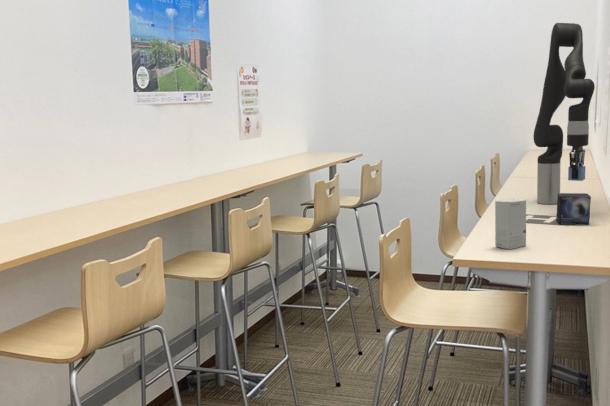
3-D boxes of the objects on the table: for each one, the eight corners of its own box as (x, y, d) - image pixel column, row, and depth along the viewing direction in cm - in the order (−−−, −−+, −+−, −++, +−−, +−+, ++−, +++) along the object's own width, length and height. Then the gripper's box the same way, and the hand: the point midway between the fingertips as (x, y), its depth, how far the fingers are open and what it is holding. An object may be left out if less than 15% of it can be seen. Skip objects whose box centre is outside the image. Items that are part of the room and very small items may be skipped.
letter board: (518, 214, 276) (518, 213, 276) (571, 217, 264) (571, 216, 264) (505, 221, 262) (505, 220, 262) (560, 225, 251) (560, 224, 251)
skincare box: (509, 250, 215) (509, 202, 213) (494, 247, 220) (494, 200, 218) (527, 245, 220) (527, 199, 218) (511, 243, 225) (511, 197, 223)
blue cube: (571, 178, 268) (571, 165, 267) (585, 179, 265) (585, 166, 265) (568, 180, 264) (568, 167, 263) (582, 180, 261) (582, 167, 261)
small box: (558, 224, 251) (559, 195, 249) (555, 221, 257) (556, 192, 255) (590, 224, 249) (591, 195, 247) (586, 221, 255) (587, 193, 253)
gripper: (583, 134, 254) (582, 180, 257) (592, 131, 266) (591, 176, 268) (562, 134, 258) (561, 180, 261) (572, 131, 270) (571, 175, 273)
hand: (576, 177), depth 265 cm, fingers closed on blue cube, 5 cm apart
